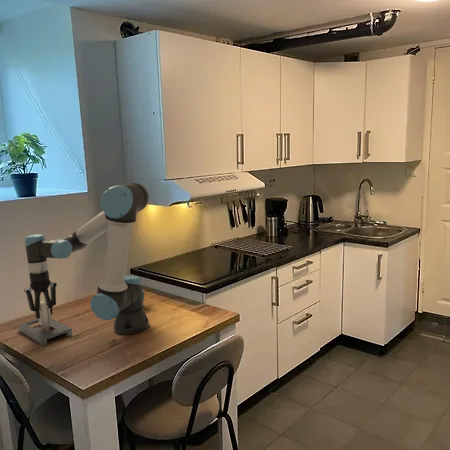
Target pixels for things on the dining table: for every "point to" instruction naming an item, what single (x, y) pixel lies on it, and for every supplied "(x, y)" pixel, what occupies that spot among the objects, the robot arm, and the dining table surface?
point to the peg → (45, 316)
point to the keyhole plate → (42, 335)
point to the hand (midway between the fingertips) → (45, 323)
